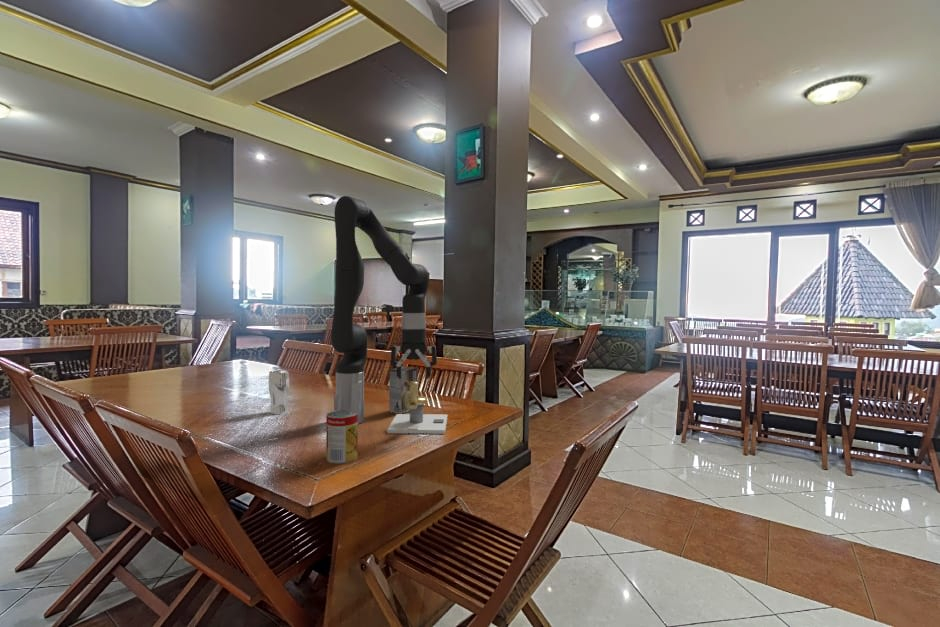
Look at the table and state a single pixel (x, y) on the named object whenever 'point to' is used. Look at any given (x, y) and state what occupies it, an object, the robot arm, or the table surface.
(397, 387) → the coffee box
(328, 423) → the canned food
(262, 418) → the table surface
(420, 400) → the coupling
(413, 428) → the base
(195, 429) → the table surface
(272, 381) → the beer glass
